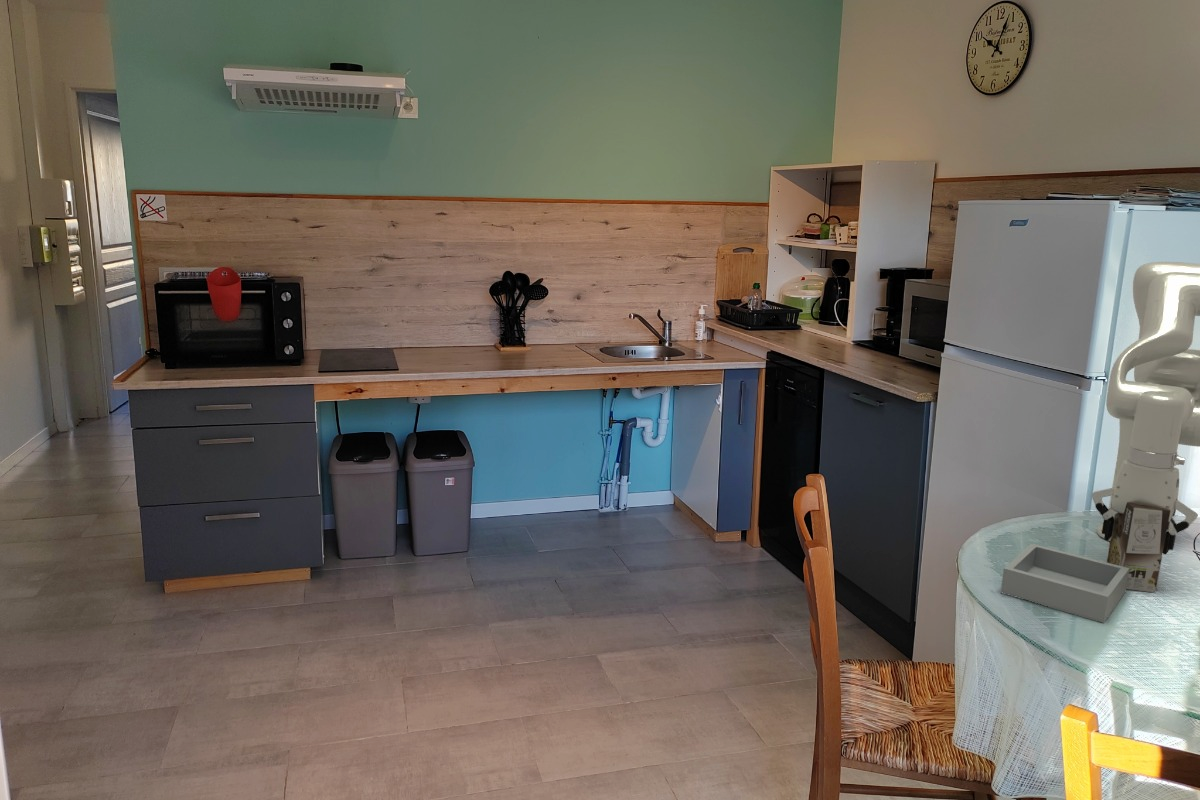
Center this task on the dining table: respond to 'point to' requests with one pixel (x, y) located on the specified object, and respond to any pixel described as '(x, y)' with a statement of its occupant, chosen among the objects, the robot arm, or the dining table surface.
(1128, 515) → the coffee box
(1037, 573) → the grey bin
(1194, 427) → the robot arm
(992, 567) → the dining table surface
